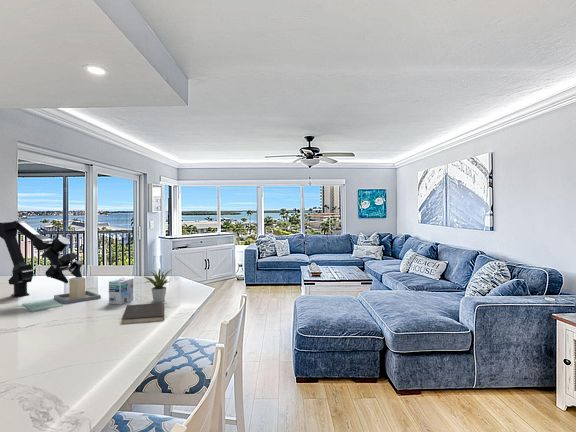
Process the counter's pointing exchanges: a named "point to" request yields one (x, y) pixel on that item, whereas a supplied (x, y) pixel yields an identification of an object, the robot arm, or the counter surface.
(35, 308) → the mat
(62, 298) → the parts tray
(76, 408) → the counter surface
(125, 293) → the light bulb box
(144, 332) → the counter surface
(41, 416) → the counter surface
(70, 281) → the carton
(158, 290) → the house plant
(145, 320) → the hardcover book
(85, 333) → the counter surface
